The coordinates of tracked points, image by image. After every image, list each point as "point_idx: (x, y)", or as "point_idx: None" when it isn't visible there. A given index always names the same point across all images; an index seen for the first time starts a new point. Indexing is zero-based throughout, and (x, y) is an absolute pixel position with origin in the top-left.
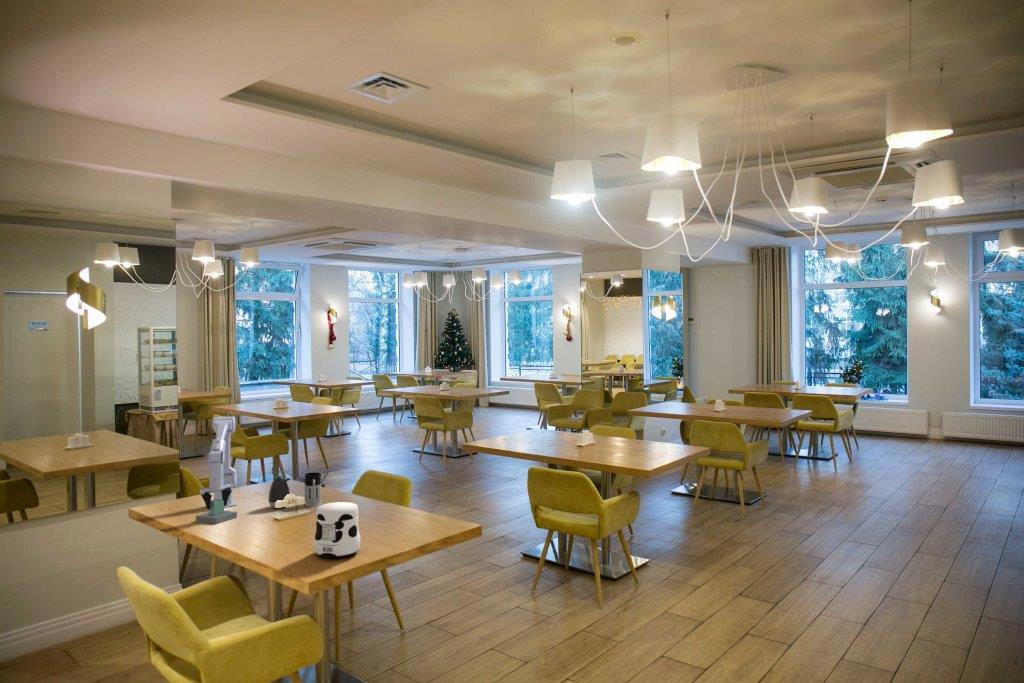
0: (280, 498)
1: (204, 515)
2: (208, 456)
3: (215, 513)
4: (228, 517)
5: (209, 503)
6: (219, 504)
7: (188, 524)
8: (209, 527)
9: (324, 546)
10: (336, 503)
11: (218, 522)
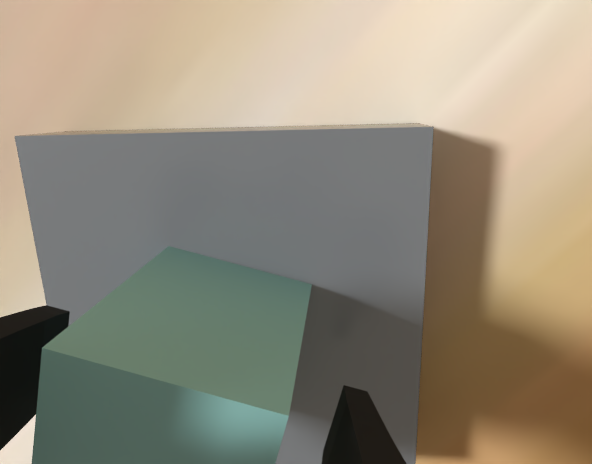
0: None
1: None
2: None
3: (292, 290)
4: (192, 130)
5: (389, 460)
6: (183, 336)
7: (536, 424)
8: (584, 85)
9: None
10: None
11: (381, 125)
